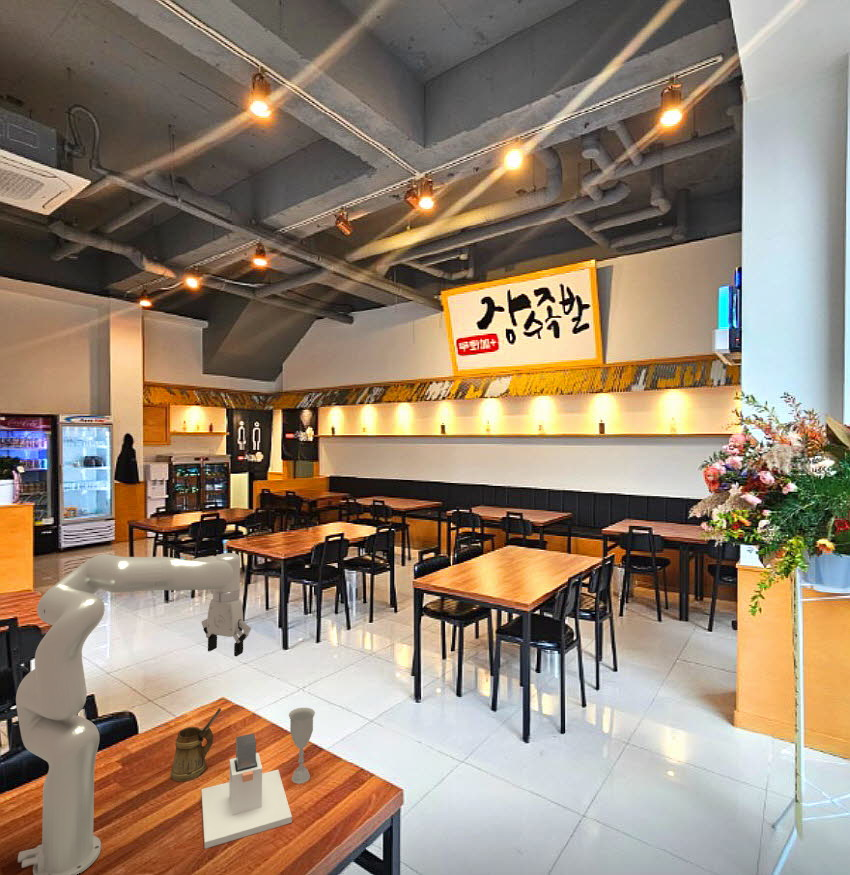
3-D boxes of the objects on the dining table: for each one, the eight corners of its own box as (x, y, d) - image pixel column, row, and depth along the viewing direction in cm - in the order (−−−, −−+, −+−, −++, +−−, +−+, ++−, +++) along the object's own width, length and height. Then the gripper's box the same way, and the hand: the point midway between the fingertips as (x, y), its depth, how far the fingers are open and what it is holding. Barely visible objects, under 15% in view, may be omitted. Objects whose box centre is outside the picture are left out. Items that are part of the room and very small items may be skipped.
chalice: (317, 770, 148) (318, 708, 148) (309, 786, 142) (310, 721, 142) (292, 768, 149) (293, 706, 149) (283, 784, 142) (284, 719, 142)
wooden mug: (214, 781, 143) (215, 716, 143) (165, 782, 143) (166, 717, 143) (225, 761, 152) (226, 700, 152) (179, 761, 152) (180, 700, 152)
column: (236, 809, 130) (237, 746, 130) (235, 798, 134) (236, 737, 134) (255, 804, 132) (256, 742, 132) (253, 793, 136) (254, 733, 136)
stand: (204, 848, 120) (205, 799, 120) (201, 794, 138) (202, 751, 138) (291, 822, 128) (292, 776, 128) (278, 774, 146) (278, 734, 146)
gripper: (194, 595, 155) (193, 652, 155) (241, 602, 149) (240, 661, 149) (212, 588, 162) (211, 643, 162) (258, 595, 156) (257, 651, 156)
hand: (225, 652), depth 155 cm, fingers open, 9 cm apart
